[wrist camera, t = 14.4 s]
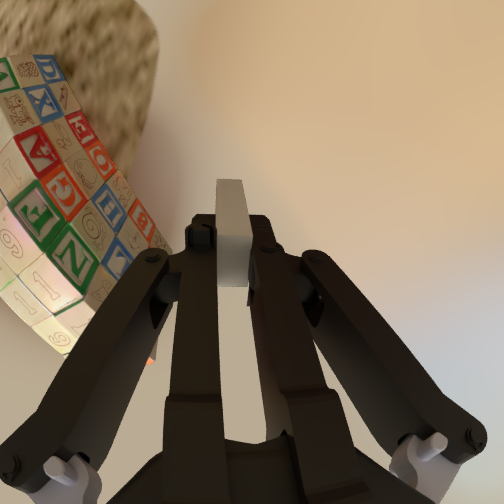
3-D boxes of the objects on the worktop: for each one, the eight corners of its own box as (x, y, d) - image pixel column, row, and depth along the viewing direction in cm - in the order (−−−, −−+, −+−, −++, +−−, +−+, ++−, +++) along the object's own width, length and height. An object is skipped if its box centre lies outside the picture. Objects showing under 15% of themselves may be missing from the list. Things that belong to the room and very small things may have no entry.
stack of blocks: (8, 100, 15) (-94, 142, 5) (54, 53, 14) (-58, 63, 4) (124, 276, 27) (91, 382, 17) (175, 252, 26) (156, 367, 16)
